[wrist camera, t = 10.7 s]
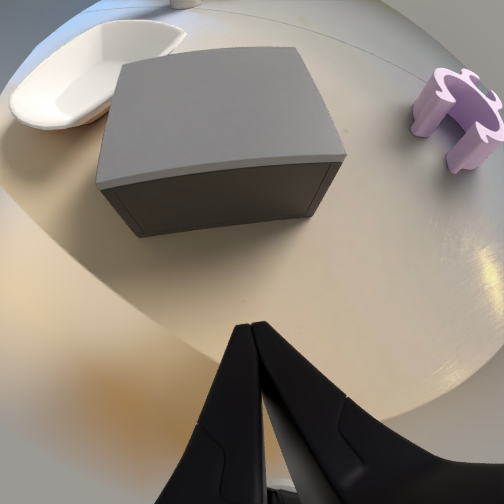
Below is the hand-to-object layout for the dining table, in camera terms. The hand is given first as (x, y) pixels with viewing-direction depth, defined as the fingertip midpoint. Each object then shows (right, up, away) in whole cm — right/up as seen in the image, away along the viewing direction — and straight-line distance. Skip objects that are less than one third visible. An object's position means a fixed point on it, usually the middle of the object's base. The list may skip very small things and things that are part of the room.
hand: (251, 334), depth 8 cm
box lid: (-3, +13, +10) cm, 16 cm away
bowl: (-20, +24, +21) cm, 37 cm away
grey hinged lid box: (-3, +10, +17) cm, 20 cm away
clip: (+29, +20, +22) cm, 42 cm away
